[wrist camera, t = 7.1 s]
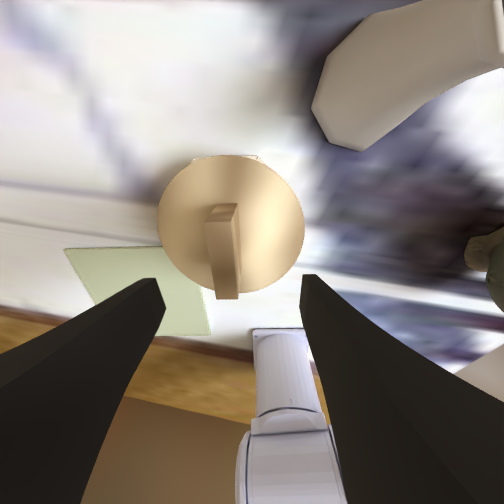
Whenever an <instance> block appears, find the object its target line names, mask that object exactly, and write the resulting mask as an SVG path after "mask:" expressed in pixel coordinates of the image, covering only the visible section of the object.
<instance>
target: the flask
mask: <svg viewBox="0 0 504 504" xmlns="http://www.w3.org/2000/svg"><path fill="white" fill-rule="evenodd" d="M498 68H504V0H423V1H420V2H417V3H413V4H410V5H407V6H404V7H400V8H396V9H391V10H387V11H383V12H378V13H374V14H371V15H368V16H367V17H366V18H365V19H364V20H363V21H362V22H361V23H360V24H359V25H358V26H357V27H356V28H355V29H354V30H353V31H352V32H351V33H350V34H349V35H348V36H347V37H346V38H345V39H344V40H343V41H342V42H341V43H340V44H339V45H338V46H337V47H336V48H335V49H334V50H333V51H332V52H331V53H330V54H329V55H328V56H327V58H326V61H325V64H324V67H323V71H322V74H321V77H320V80H319V83H318V87H317V90H316V93H315V96H314V99H313V103H312V106H311V110H312V112H313V114H314V115H315V117H316V119H317V121H318V123H319V125H320V126H321V128H322V130H323V132H324V134H325V136H326V137H327V139H328V141H329V143H332V144H336V145H339V146H343V147H346V148H349V149H353V150H356V151H360V152H363V151H364V150H366V149H367V148H368V147H369V146H371V145H372V144H373V143H375V142H376V141H377V140H379V139H380V138H381V137H383V136H384V135H385V134H387V133H388V132H389V131H391V130H392V129H393V128H395V127H396V126H397V125H398V124H400V123H401V122H402V121H404V120H405V119H406V118H407V117H409V116H410V115H411V114H412V113H413V112H415V111H416V110H417V109H418V108H419V107H421V106H422V105H423V104H425V103H426V102H428V101H430V100H431V99H433V98H435V97H437V96H439V95H440V94H442V93H444V92H446V91H448V90H449V89H451V88H453V87H455V86H457V85H458V84H460V83H462V82H464V81H466V80H468V79H471V78H473V77H476V76H479V75H482V74H484V73H487V72H490V71H492V70H495V69H498Z"/></svg>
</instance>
